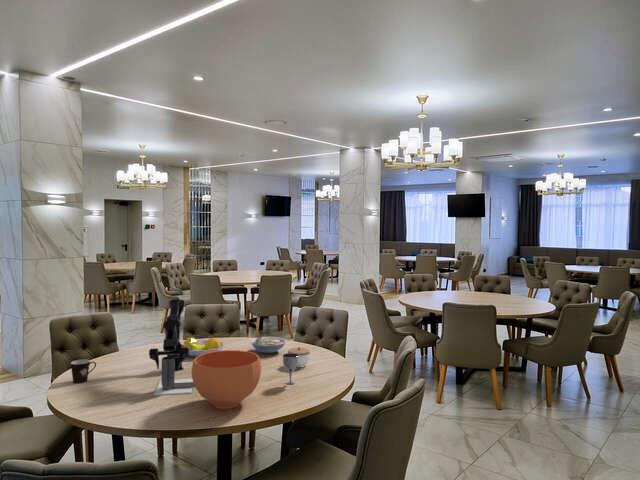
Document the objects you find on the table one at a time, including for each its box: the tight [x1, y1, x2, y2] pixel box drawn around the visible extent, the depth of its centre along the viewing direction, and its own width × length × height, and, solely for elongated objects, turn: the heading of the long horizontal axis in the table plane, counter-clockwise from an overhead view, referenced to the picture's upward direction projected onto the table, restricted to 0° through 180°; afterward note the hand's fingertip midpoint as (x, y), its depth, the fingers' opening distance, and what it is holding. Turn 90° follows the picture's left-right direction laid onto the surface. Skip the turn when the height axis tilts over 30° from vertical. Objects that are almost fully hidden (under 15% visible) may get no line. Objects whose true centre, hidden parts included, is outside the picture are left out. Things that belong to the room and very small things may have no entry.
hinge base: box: [153, 378, 195, 396], centre depth 225 cm, size 20×18×6 cm
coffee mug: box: [70, 359, 97, 384], centre depth 233 cm, size 12×9×10 cm
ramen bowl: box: [250, 334, 287, 354], centre depth 293 cm, size 25×23×8 cm
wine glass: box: [282, 352, 298, 385], centre depth 231 cm, size 8×8×15 cm
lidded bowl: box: [287, 346, 311, 368], centre depth 263 cm, size 13×13×11 cm
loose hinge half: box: [161, 356, 176, 388], centre depth 219 cm, size 10×6×12 cm, turn 12°
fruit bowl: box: [182, 336, 225, 358], centre depth 285 cm, size 28×27×11 cm
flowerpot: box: [191, 349, 262, 410], centre depth 204 cm, size 30×30×20 cm
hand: (167, 368), depth 220 cm, fingers open, 9 cm apart
